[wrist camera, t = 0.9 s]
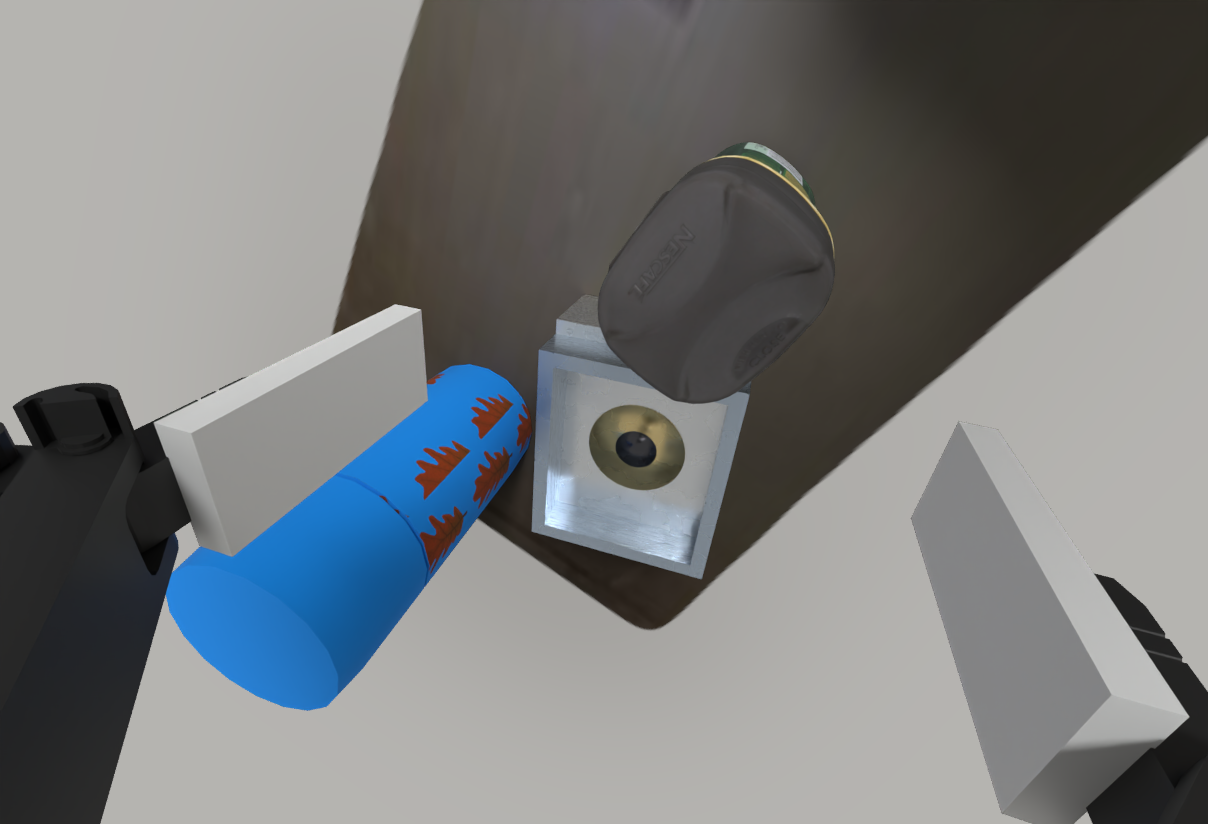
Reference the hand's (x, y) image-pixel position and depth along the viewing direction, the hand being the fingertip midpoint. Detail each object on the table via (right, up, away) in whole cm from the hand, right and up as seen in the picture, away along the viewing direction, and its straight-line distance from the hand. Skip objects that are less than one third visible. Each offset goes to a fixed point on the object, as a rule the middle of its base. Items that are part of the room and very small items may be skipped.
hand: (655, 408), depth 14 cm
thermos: (-13, -1, +36) cm, 38 cm away
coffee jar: (+7, +12, +23) cm, 27 cm away
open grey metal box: (+3, 0, +31) cm, 31 cm away
